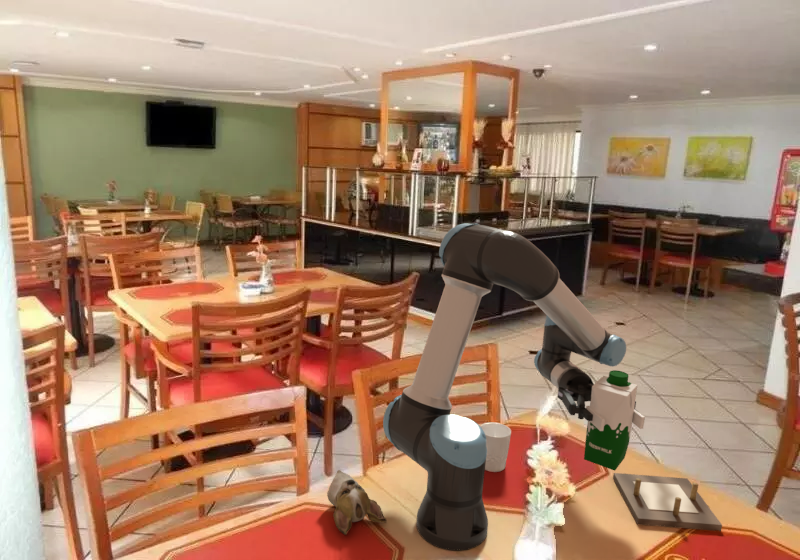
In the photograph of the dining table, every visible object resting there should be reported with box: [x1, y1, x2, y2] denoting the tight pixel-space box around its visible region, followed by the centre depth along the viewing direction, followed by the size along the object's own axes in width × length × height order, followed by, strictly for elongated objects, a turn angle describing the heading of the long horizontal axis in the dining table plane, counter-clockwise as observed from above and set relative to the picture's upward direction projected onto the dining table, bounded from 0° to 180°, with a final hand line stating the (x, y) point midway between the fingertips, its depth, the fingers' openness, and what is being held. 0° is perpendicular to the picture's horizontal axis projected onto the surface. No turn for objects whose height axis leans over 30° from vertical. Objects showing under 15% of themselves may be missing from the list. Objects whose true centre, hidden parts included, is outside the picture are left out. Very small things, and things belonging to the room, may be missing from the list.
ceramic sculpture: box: [326, 469, 387, 536], centre depth 124 cm, size 11×9×15 cm
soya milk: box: [583, 369, 638, 472], centre depth 128 cm, size 9×9×20 cm
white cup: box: [479, 421, 512, 473], centre depth 146 cm, size 8×8×10 cm
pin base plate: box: [612, 472, 723, 532], centre depth 134 cm, size 18×18×6 cm
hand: (622, 424), depth 123 cm, fingers closed on soya milk, 9 cm apart
